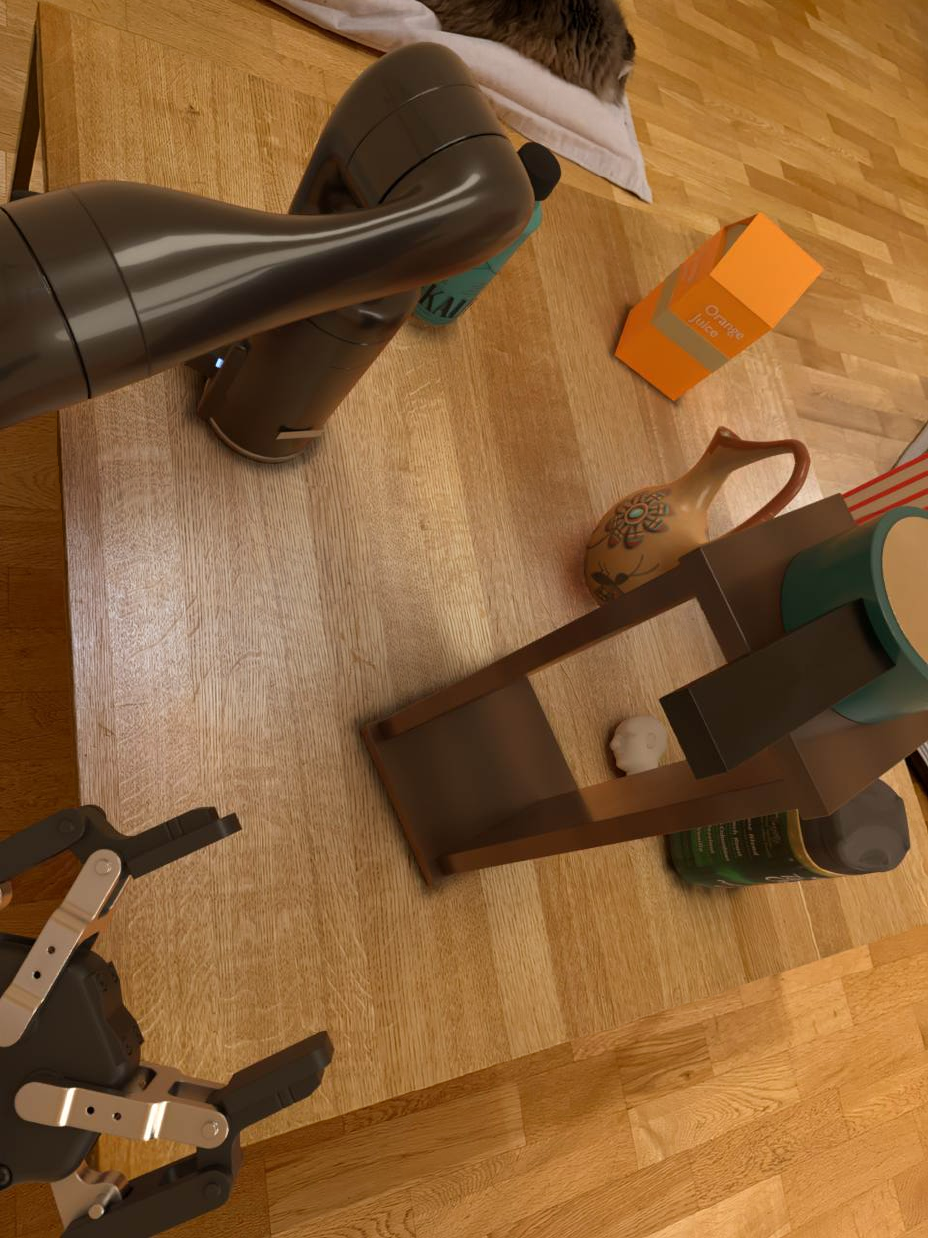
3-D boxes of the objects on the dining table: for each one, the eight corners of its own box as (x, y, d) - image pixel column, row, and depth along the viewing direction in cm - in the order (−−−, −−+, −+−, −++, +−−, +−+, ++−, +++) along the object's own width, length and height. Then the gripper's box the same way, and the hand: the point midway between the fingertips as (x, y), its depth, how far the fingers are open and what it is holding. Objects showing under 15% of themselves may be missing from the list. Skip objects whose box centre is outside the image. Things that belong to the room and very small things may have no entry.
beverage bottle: (416, 266, 90) (532, 110, 74) (464, 317, 91) (589, 175, 75) (378, 297, 87) (492, 140, 70) (429, 350, 88) (553, 208, 72)
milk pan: (679, 863, 36) (782, 848, 32) (579, 647, 36) (667, 605, 32) (933, 687, 48) (1032, 660, 43) (853, 528, 48) (943, 486, 44)
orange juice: (629, 309, 105) (765, 186, 89) (687, 356, 108) (829, 245, 91) (613, 355, 101) (752, 236, 85) (674, 402, 104) (820, 295, 88)
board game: (715, 555, 99) (950, 434, 77) (756, 562, 102) (994, 448, 80) (749, 747, 93) (1017, 674, 71) (792, 748, 96) (1062, 679, 74)
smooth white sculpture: (607, 716, 86) (658, 732, 87) (594, 798, 82) (648, 814, 83) (624, 698, 82) (678, 715, 83) (612, 784, 78) (669, 800, 79)
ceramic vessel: (627, 670, 88) (850, 577, 67) (549, 633, 84) (759, 523, 64) (646, 526, 95) (852, 403, 75) (575, 486, 92) (770, 347, 72)
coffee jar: (667, 888, 82) (843, 868, 67) (660, 797, 85) (828, 758, 70) (747, 893, 86) (929, 875, 71) (738, 807, 89) (911, 771, 74)
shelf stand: (428, 886, 70) (829, 816, 41) (359, 727, 72) (699, 546, 42) (575, 802, 80) (990, 694, 50) (512, 663, 81) (879, 476, 51)
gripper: (-154, 1429, 27) (355, 1171, 29) (-317, 971, 29) (178, 750, 30) (-33, 1282, 35) (367, 1083, 37) (-167, 924, 36) (225, 748, 38)
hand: (281, 932), depth 34 cm, fingers open, 8 cm apart
